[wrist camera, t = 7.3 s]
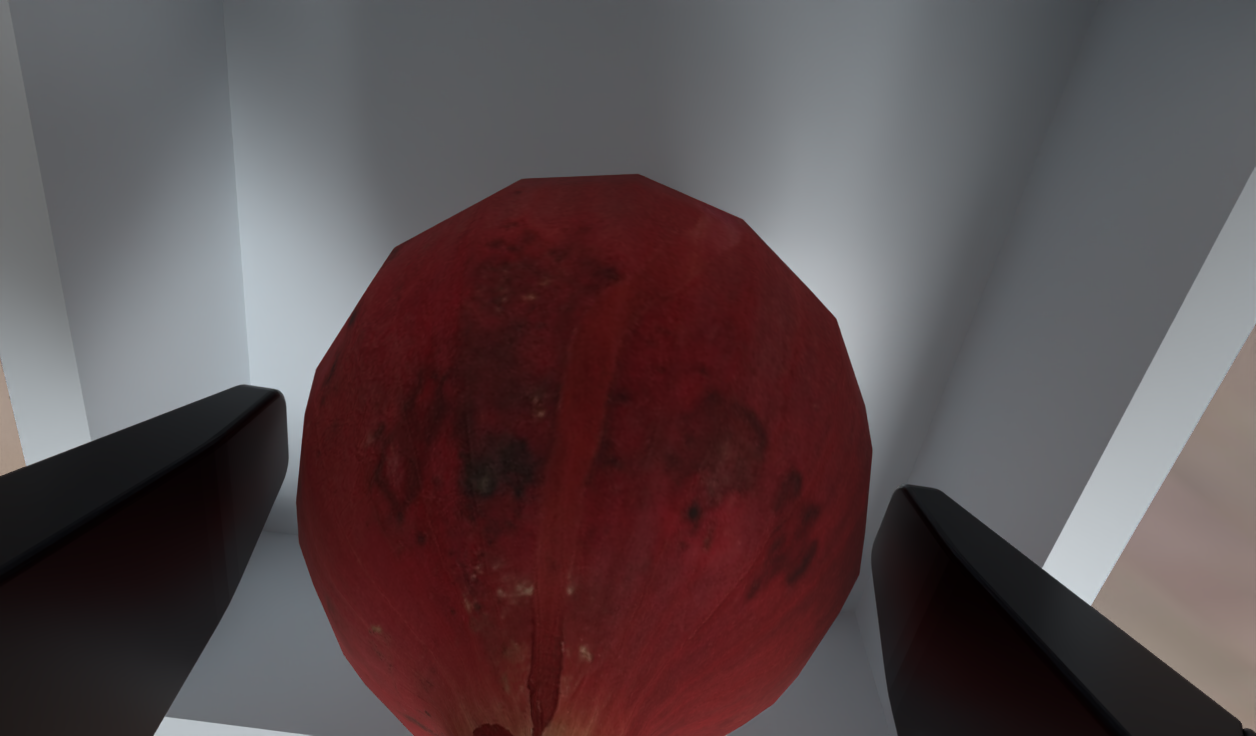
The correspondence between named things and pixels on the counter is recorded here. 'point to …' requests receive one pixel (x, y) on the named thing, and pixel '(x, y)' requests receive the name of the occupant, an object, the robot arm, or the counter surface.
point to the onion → (584, 469)
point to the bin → (685, 161)
